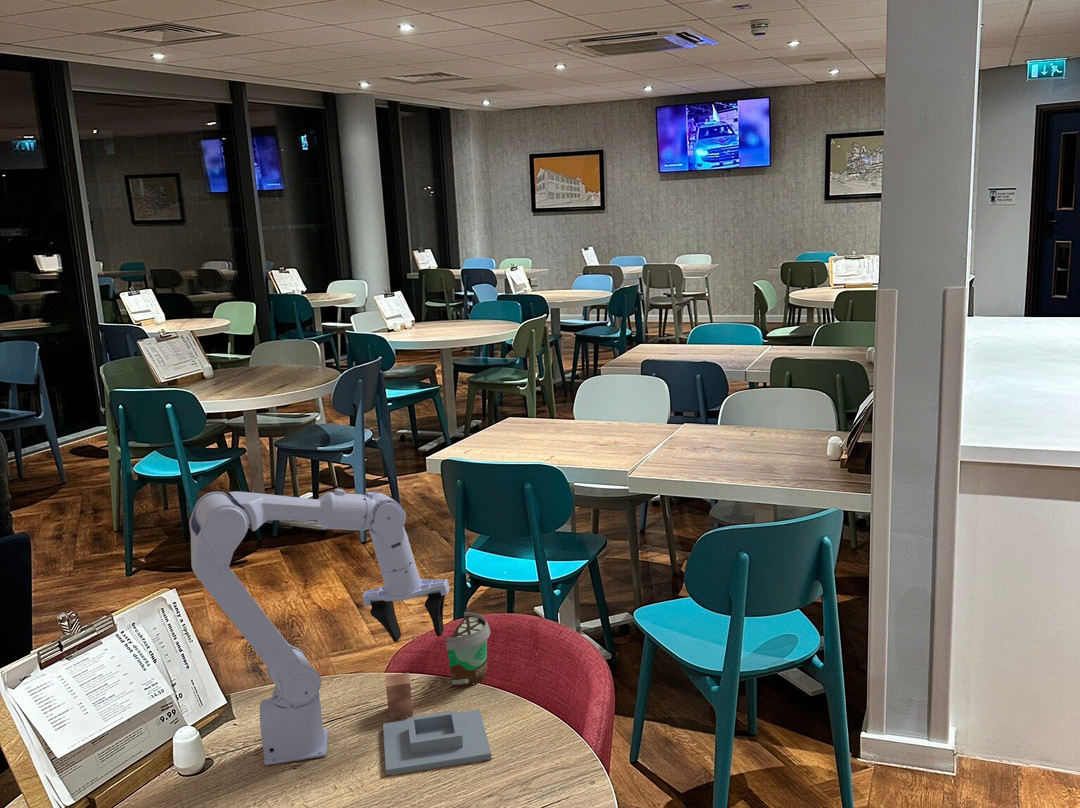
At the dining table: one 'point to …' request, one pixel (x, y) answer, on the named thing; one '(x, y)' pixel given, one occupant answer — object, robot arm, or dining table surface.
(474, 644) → the food container
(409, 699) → the terracotta block
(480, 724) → the base board
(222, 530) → the robot arm
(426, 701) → the dining table surface
